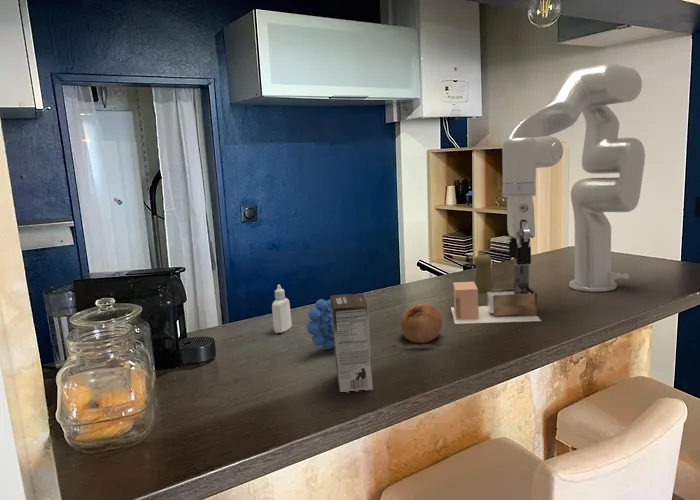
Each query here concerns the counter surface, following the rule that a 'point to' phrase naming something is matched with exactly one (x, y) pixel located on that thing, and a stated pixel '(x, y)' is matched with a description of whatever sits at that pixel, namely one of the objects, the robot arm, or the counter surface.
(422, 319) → the onion
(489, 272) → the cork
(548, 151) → the robot arm
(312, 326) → the grapes
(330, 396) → the counter surface
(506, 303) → the walnut sleeve
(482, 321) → the grey base board
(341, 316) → the coffee box
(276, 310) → the eye dropper bottle
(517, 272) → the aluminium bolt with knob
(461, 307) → the terracotta socket
